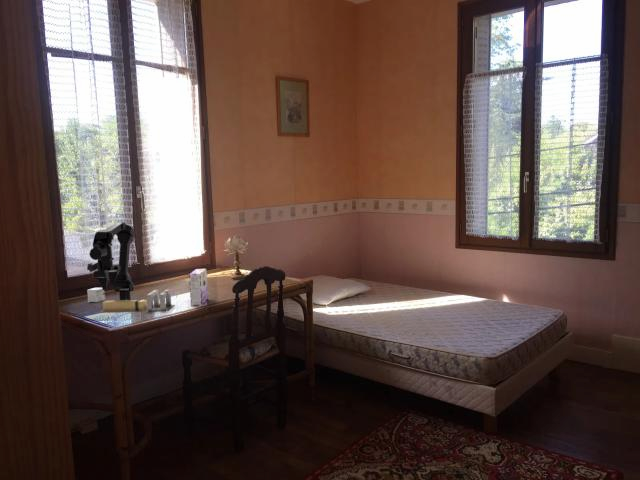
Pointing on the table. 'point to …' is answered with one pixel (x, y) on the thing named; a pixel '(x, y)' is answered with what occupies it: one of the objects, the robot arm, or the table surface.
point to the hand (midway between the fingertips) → (108, 288)
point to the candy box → (198, 287)
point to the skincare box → (95, 295)
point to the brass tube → (124, 304)
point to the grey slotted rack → (151, 307)
